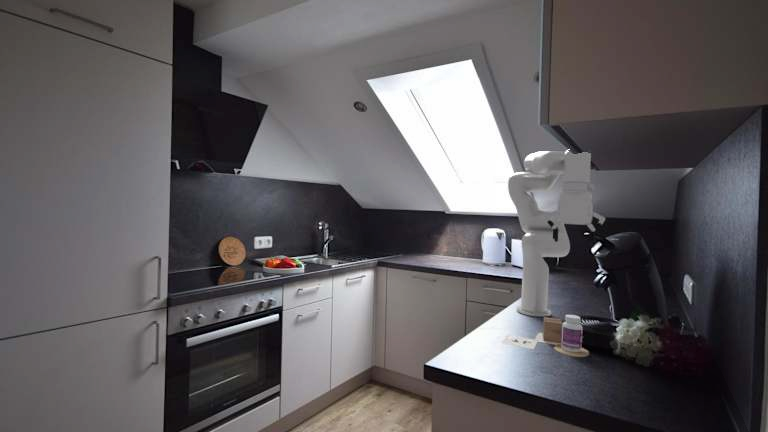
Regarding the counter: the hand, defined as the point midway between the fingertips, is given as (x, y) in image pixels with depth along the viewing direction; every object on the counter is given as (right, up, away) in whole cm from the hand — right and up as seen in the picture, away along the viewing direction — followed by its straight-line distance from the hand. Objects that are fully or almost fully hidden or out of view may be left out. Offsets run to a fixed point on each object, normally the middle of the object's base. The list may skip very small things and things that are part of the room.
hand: (572, 242), depth 123 cm
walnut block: (-8, -30, -2) cm, 31 cm away
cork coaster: (-6, -31, -11) cm, 33 cm away
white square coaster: (-19, -30, -5) cm, 35 cm away
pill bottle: (-6, -30, -11) cm, 33 cm away
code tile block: (-8, -30, -2) cm, 31 cm away
